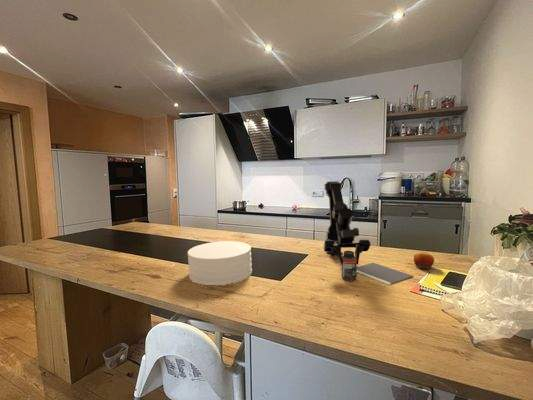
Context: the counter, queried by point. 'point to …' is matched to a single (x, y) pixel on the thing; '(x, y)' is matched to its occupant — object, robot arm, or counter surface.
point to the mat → (382, 273)
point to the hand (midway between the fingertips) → (349, 264)
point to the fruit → (423, 260)
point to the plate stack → (220, 263)
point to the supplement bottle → (349, 266)
